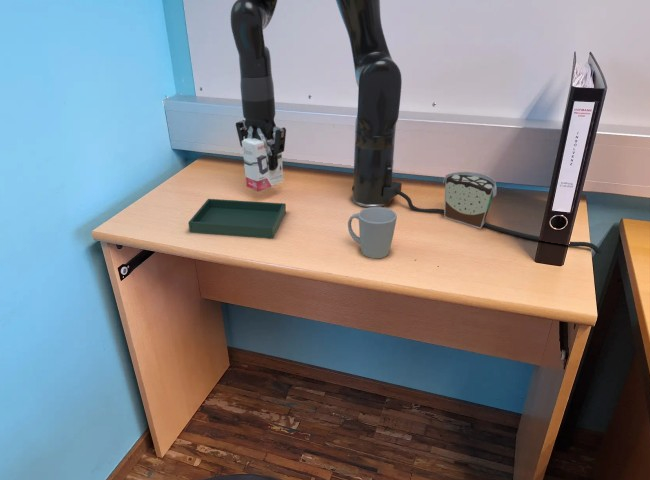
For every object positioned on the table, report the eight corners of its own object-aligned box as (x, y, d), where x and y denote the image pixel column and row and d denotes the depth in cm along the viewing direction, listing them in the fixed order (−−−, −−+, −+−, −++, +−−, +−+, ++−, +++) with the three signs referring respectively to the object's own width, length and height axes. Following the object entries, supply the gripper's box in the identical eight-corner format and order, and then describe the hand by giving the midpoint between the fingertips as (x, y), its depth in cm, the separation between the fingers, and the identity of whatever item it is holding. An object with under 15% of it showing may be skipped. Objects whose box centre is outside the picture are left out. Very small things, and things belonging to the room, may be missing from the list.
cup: (386, 264, 108) (389, 225, 104) (340, 254, 112) (341, 216, 108) (399, 248, 114) (402, 210, 109) (355, 238, 118) (356, 202, 113)
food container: (500, 221, 123) (508, 179, 118) (487, 231, 120) (495, 188, 114) (452, 207, 130) (457, 166, 125) (438, 215, 127) (443, 174, 121)
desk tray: (286, 213, 129) (285, 203, 128) (272, 238, 119) (272, 228, 117) (209, 208, 133) (208, 198, 131) (189, 232, 122) (188, 222, 120)
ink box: (258, 192, 132) (254, 144, 125) (245, 186, 135) (240, 139, 128) (284, 182, 137) (281, 135, 130) (271, 177, 140) (268, 131, 133)
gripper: (292, 95, 123) (296, 168, 132) (245, 88, 130) (251, 157, 139) (271, 103, 118) (276, 177, 127) (223, 95, 125) (231, 166, 134)
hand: (263, 167), depth 133 cm, fingers closed on ink box, 5 cm apart
